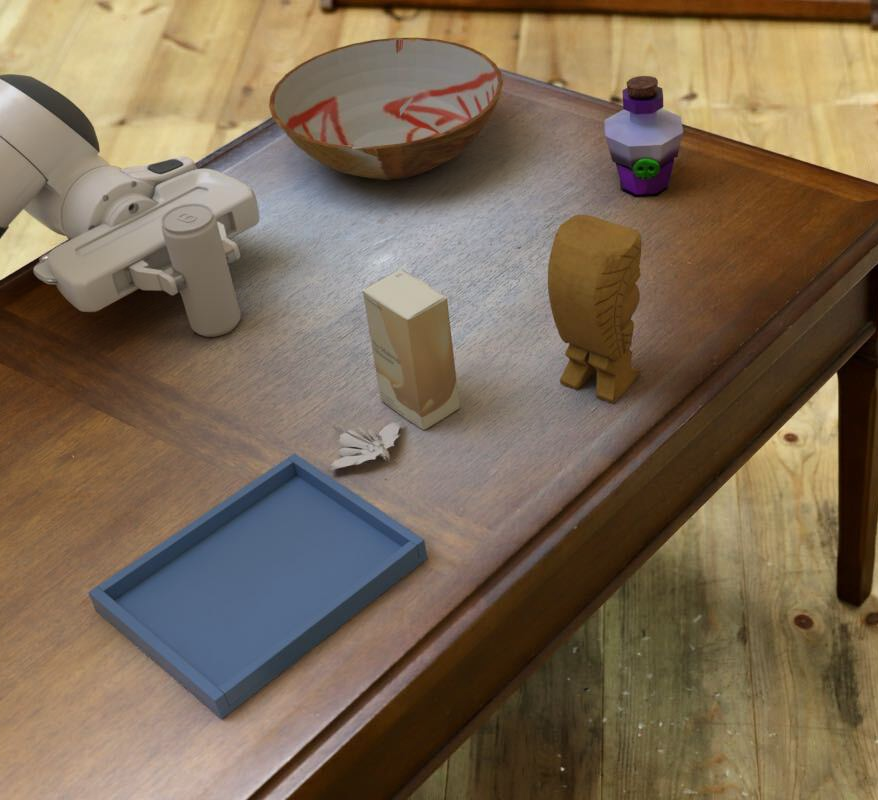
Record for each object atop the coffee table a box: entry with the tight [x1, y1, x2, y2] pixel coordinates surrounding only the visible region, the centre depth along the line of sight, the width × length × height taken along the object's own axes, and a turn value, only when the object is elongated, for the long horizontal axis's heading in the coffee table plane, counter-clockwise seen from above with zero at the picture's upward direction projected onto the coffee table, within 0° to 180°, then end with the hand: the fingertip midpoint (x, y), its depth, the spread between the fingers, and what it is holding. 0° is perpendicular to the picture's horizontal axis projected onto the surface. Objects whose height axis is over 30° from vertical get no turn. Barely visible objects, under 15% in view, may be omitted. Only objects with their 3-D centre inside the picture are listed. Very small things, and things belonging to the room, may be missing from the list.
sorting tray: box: [87, 453, 428, 720], centre depth 104 cm, size 20×16×2 cm
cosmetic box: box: [362, 268, 461, 431], centre depth 116 cm, size 6×4×12 cm
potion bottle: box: [604, 75, 684, 198], centre depth 143 cm, size 9×9×12 cm
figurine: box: [547, 214, 642, 404], centre depth 117 cm, size 7×7×15 cm
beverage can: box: [161, 203, 242, 338], centre depth 127 cm, size 5×5×12 cm
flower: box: [329, 420, 403, 471], centre depth 116 cm, size 8×8×3 cm
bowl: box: [268, 37, 504, 181], centre depth 151 cm, size 25×25×8 cm
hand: (206, 270), depth 126 cm, fingers closed on beverage can, 5 cm apart
